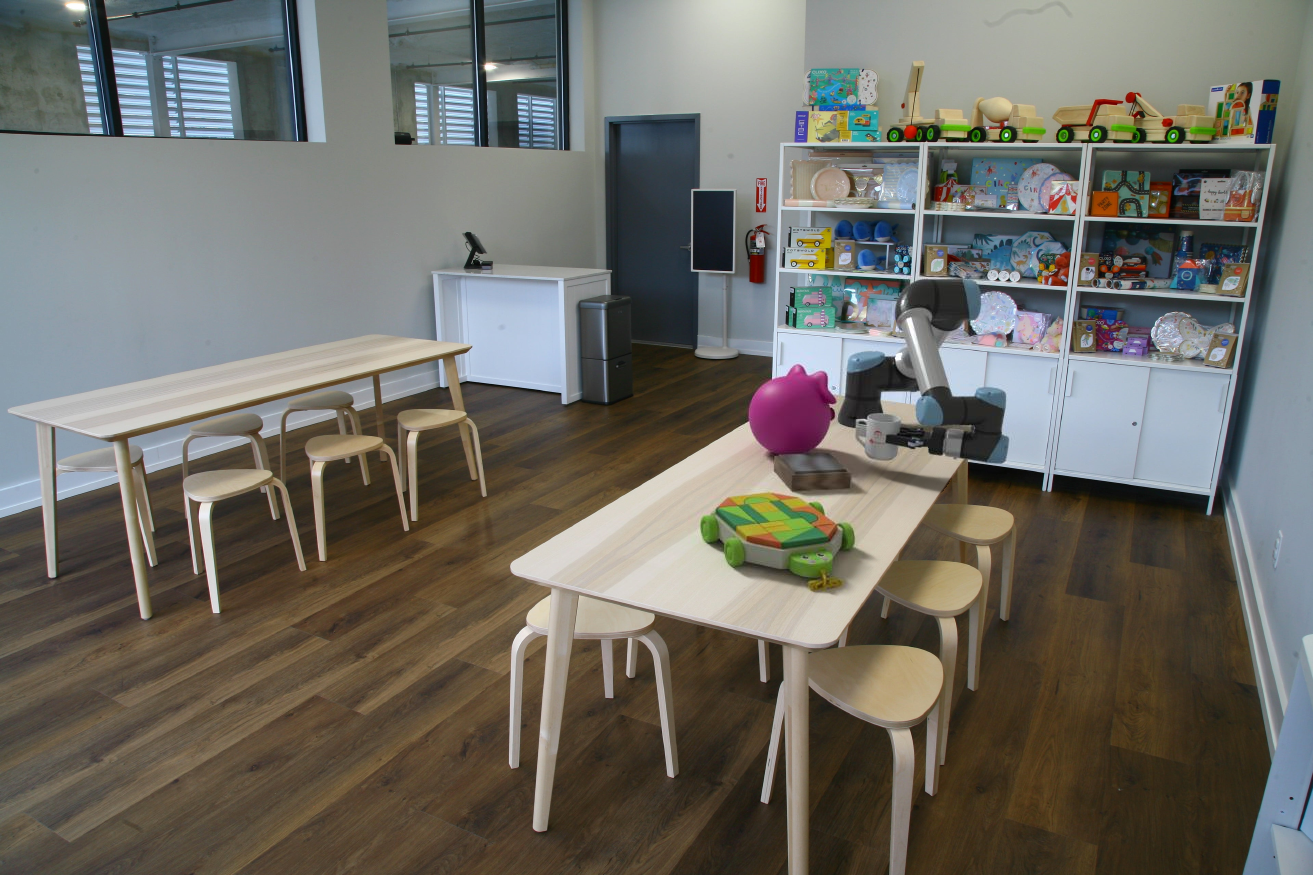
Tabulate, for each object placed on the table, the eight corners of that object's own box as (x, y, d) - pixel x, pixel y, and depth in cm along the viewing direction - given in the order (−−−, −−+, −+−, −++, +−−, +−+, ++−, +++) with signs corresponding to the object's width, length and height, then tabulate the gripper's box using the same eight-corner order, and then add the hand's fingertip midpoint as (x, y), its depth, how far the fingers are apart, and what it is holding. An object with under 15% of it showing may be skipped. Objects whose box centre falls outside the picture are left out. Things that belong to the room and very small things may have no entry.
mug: (900, 454, 236) (904, 416, 233) (892, 463, 229) (896, 424, 226) (858, 447, 242) (861, 410, 238) (849, 456, 234) (852, 417, 231)
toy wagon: (764, 602, 163) (766, 567, 161) (690, 529, 197) (690, 499, 195) (893, 580, 173) (896, 546, 171) (801, 514, 207) (803, 485, 204)
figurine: (846, 457, 248) (853, 373, 240) (782, 471, 236) (787, 383, 228) (794, 437, 267) (798, 358, 259) (732, 448, 255) (735, 367, 247)
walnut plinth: (828, 468, 238) (830, 451, 237) (850, 488, 223) (851, 470, 221) (773, 470, 236) (774, 453, 234) (791, 491, 220) (792, 472, 219)
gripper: (939, 463, 221) (849, 449, 231) (947, 448, 233) (862, 435, 243) (943, 435, 219) (852, 423, 229) (951, 421, 231) (864, 410, 241)
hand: (857, 429), depth 236 cm, fingers closed on mug
